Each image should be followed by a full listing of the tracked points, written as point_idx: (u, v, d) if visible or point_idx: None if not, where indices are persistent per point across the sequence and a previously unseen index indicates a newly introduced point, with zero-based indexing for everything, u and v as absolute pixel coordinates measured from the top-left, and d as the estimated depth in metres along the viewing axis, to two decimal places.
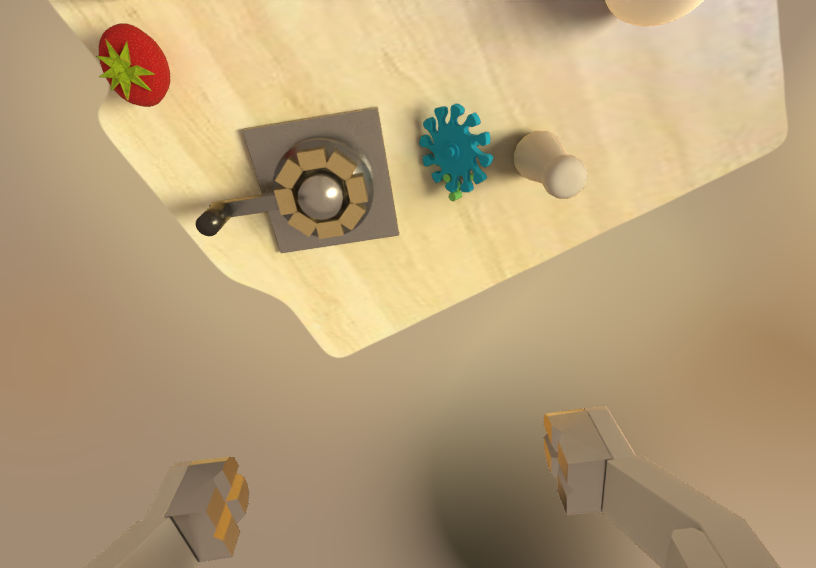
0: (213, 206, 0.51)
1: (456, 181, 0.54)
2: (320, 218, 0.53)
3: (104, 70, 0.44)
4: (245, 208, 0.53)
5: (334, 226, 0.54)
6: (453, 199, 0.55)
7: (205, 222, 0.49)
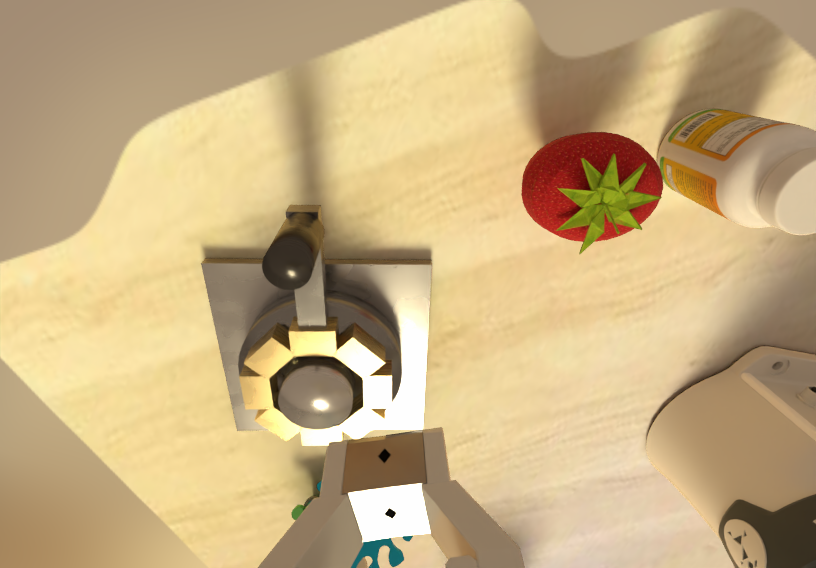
0: (319, 245, 0.25)
1: None
2: (280, 397, 0.30)
3: (613, 153, 0.22)
4: None
5: (262, 400, 0.32)
6: (294, 515, 0.40)
7: (295, 267, 0.22)
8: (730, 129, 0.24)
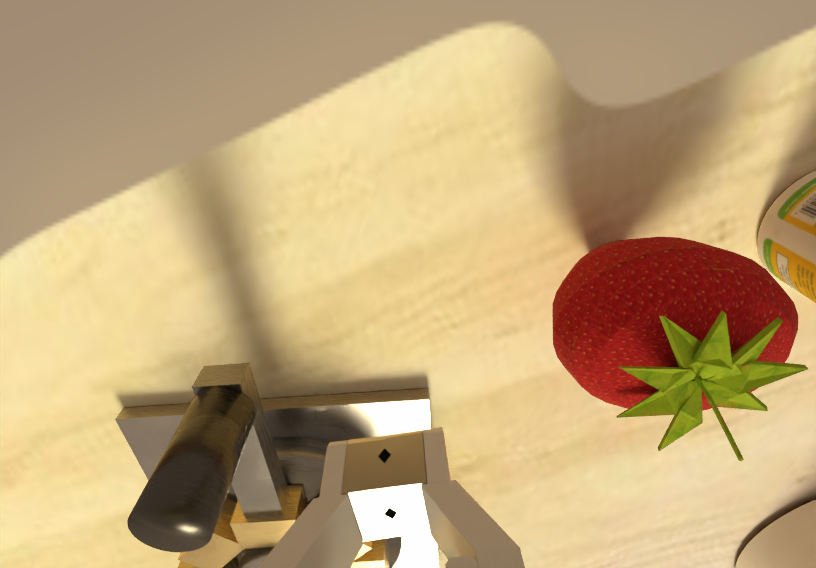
0: (241, 446, 0.16)
1: None
2: None
3: (715, 295, 0.13)
4: (239, 458, 0.19)
5: None
6: None
7: (183, 526, 0.13)
8: None
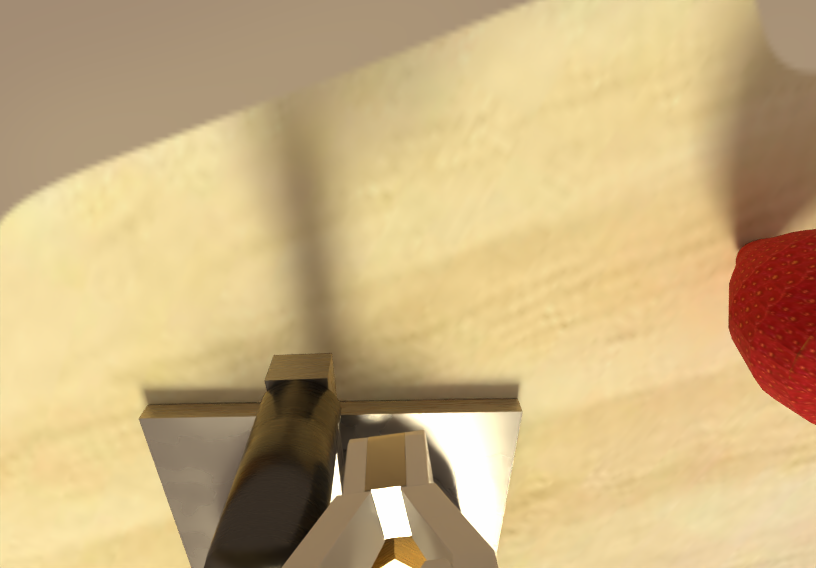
0: (334, 459, 0.12)
1: None
2: None
3: None
4: None
5: None
6: None
7: None
8: None
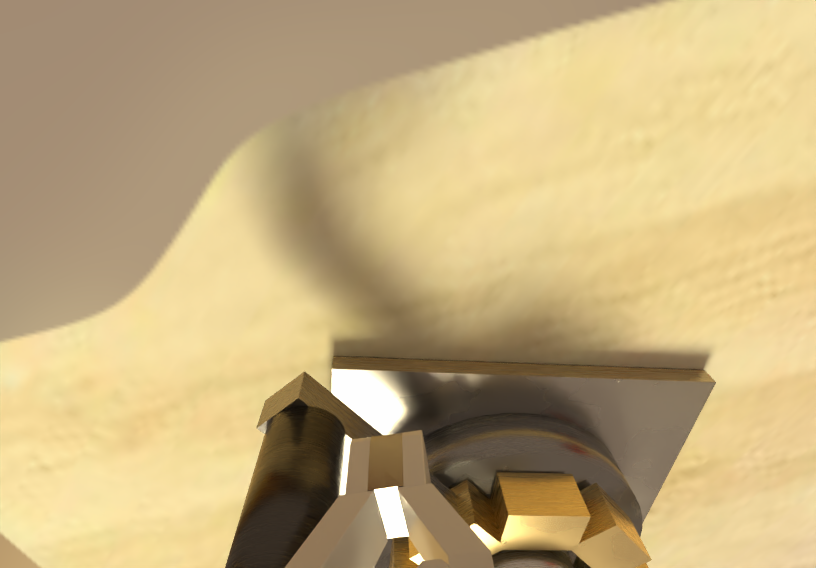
0: (329, 467, 0.12)
1: None
2: None
3: None
4: None
5: None
6: None
7: None
8: None
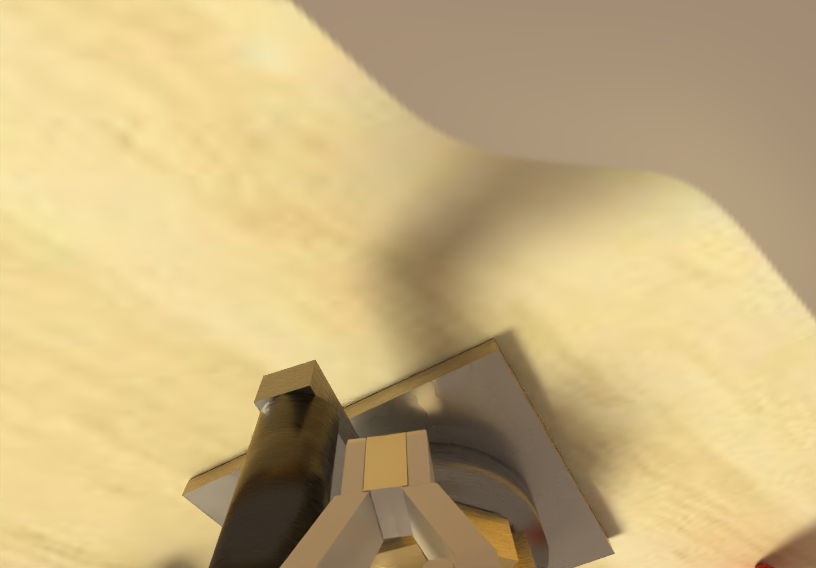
0: (330, 462, 0.12)
1: None
2: None
3: None
4: (333, 481, 0.15)
5: None
6: None
7: None
8: None
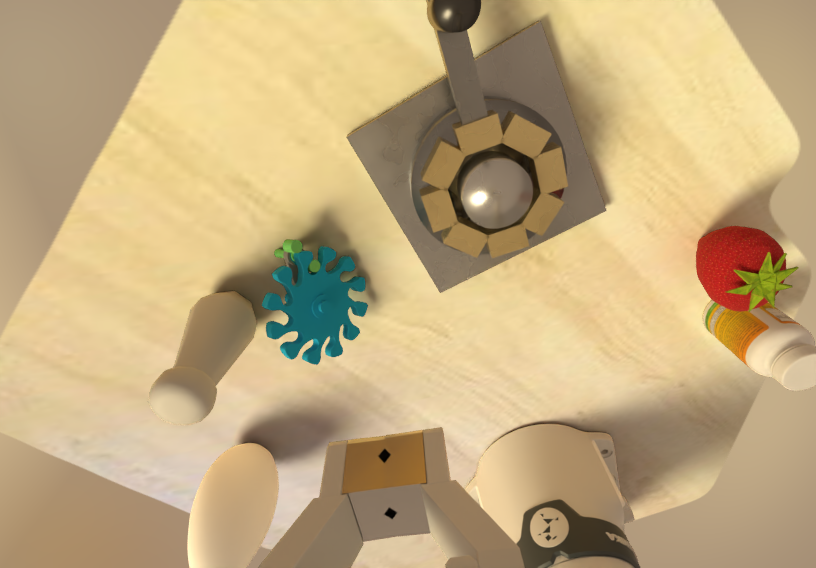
0: None
1: (300, 268, 0.37)
2: (491, 164, 0.31)
3: (784, 267, 0.35)
4: (457, 60, 0.29)
5: (446, 217, 0.34)
6: (293, 244, 0.36)
7: (465, 2, 0.23)
8: (784, 314, 0.40)
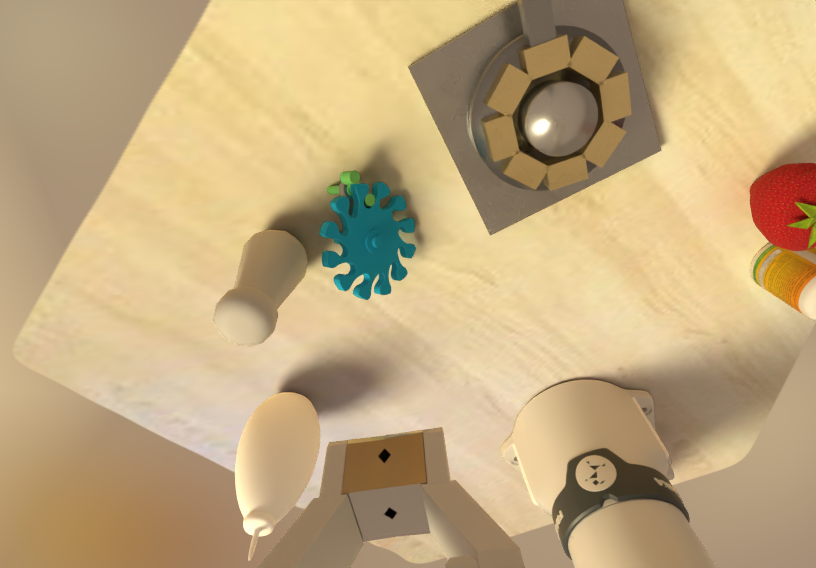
0: None
1: (356, 201, 0.37)
2: (558, 86, 0.31)
3: None
4: None
5: (508, 145, 0.34)
6: (352, 175, 0.36)
7: None
8: None
